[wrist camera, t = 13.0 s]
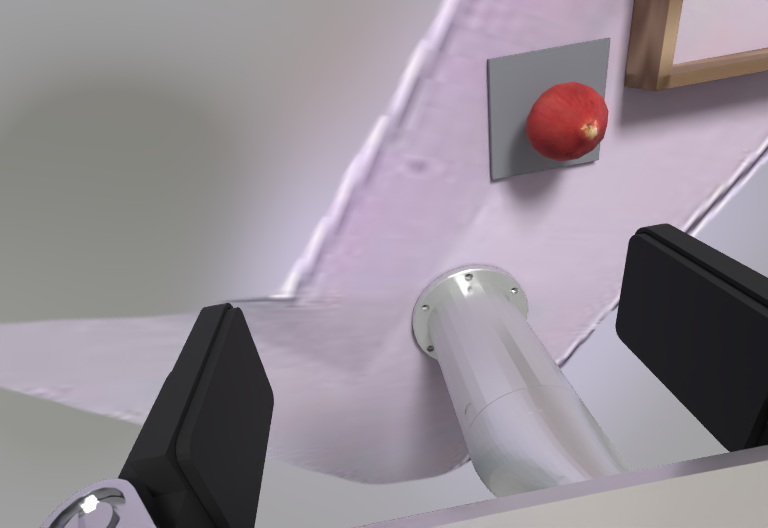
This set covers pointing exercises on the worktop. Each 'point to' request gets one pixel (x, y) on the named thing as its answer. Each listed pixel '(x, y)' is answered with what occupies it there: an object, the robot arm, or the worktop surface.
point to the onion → (567, 121)
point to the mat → (522, 89)
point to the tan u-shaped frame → (657, 46)
